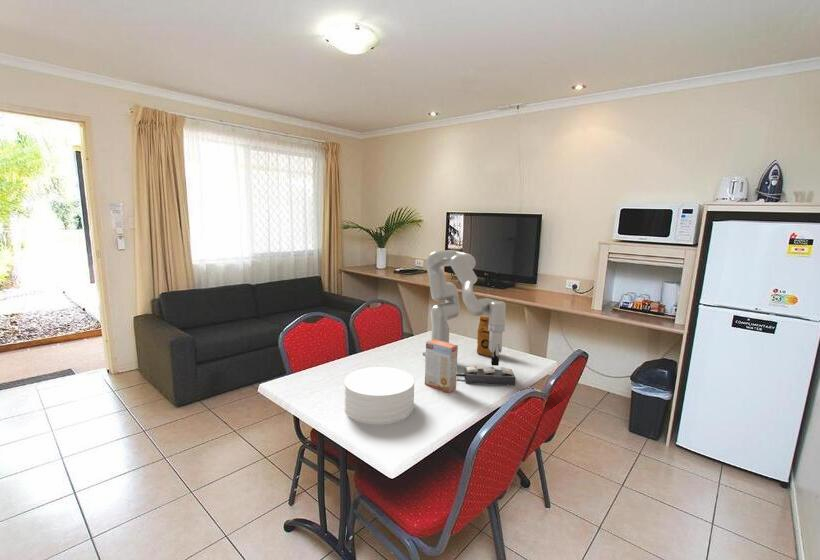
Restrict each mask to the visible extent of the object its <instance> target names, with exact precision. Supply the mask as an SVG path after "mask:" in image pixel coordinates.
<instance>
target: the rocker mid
mask: <svg viewBox="0 0 820 560" xmlns="http://www.w3.org/2000/svg"><path fill="white" fill-rule="evenodd" d="M482 369H483V371H484V373H491V372H495V370H496V369H495V367H494V366H487V367H483V368H482Z"/></svg>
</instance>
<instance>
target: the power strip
mask: <svg viewBox="0 0 820 560" xmlns="http://www.w3.org/2000/svg"><path fill="white" fill-rule="evenodd" d="M456 377H463V378H464V382H465V384H473V385H475V384H476V385H493V386H513V387H516V379H517V377H516V376H515V373H514V372H513V375H511V374H507V373H503V372H502V370H501V369H495V372H491V373H484V371H483V368H478V371H475V372H468V373H467V368H466V367H464V372H463V373H457V375H456Z"/></svg>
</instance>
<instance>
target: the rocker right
mask: <svg viewBox="0 0 820 560" xmlns="http://www.w3.org/2000/svg"><path fill="white" fill-rule="evenodd" d="M500 370H502V372H503V373H507V374H511V375H513V373H514V371H513V369H512V368H508V367H505V366H501V368H500Z"/></svg>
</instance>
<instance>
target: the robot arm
mask: <svg viewBox="0 0 820 560" xmlns="http://www.w3.org/2000/svg"><path fill="white" fill-rule="evenodd" d="M476 263H477V262H476V259H475V256H473V255H472V254H470V253H466V252H462V251H459V250H453V249H449V250H448V249H447V250H446V249H443V250H441V249H440V250H435V251H433V252H431V253H429V255H428V256H427V258H426V263H425V265H426V271H427V274H428V280H429V289H430V296H431V298H432V300H433V301H435V302H441V303H437V304H435V305H433V306H432V307H431V309H430V320H431V338H430V340H432V339H435V340H439V341H443V342H446V343H450V327H449V324H448V321H451V320H454V319H457V318H458V317H459V316H460V313H461V307H460V306H461V305H460V298H459V291H458V287H457V286H456V284H455V283H453V282H451V281H448V282H446V276H445V272H444V271H443V269H442V267H451V269H452V271H453V272H454V274H455V276H456V278H457V280H458V281H459V283H460V285H461V297H462V301H463V303H464V305H465V307H466V309H467V310H468V312H469V314H471V315H473V316H475V317H480V316H485V315H488V317H489V326H488V330H489V331H490V334H489V349H490V352H491V353H492V357H491V361H490V363H491V366H493V367H494V366H497V367H498V366H499V362H500V354H501V353H502V350H503V333H504V332H505V330H506V329H505V327H506V307H507V305H506V303H505V302H504V301H502V300H495V299H492V298H488V297H485V298H479V299H477V297H476V295H475V293H474V289H473V288H474V287H473V286H474V284H476V282H477V281H478V277H477V275H476V273H475V271H474V270H473V269H475V267H476ZM442 301H444V302H442ZM422 356H423V357H425V358H426V351H422Z"/></svg>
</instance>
